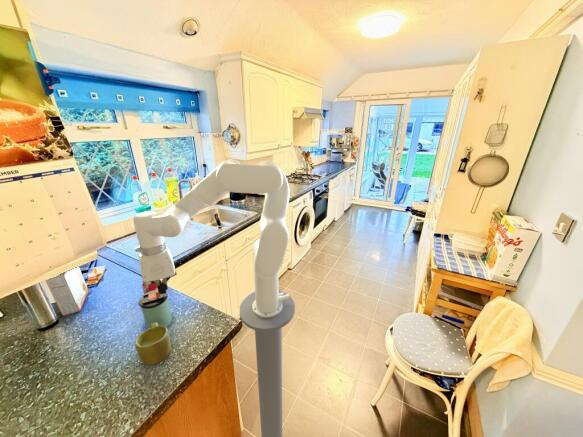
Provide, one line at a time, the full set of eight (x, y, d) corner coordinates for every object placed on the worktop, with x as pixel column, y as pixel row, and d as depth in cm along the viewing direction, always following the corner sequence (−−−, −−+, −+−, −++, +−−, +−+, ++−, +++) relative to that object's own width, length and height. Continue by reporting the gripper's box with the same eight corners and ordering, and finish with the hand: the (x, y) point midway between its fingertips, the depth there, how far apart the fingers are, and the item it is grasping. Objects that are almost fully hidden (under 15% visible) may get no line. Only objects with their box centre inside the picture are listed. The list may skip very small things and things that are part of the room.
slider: (159, 292, 87) (158, 287, 86) (159, 298, 85) (158, 293, 84) (148, 295, 86) (147, 290, 85) (148, 301, 83) (147, 295, 82)
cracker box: (72, 295, 103) (55, 254, 96) (89, 291, 106) (74, 250, 98) (60, 317, 92) (40, 271, 84) (80, 312, 94) (62, 267, 87)
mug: (172, 361, 73) (157, 335, 71) (140, 376, 72) (123, 350, 69) (183, 335, 85) (170, 312, 82) (155, 347, 84) (141, 325, 81)
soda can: (144, 303, 99) (137, 280, 94) (160, 294, 104) (155, 272, 100) (152, 310, 95) (146, 286, 91) (169, 301, 101) (164, 277, 96)
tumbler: (172, 310, 95) (166, 285, 91) (173, 326, 88) (167, 299, 83) (146, 318, 91) (138, 292, 87) (145, 336, 84) (137, 308, 79)
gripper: (126, 258, 73) (139, 304, 80) (178, 247, 80) (186, 291, 87) (128, 247, 79) (140, 291, 86) (177, 239, 86) (184, 280, 93)
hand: (163, 291), depth 86 cm, fingers closed
